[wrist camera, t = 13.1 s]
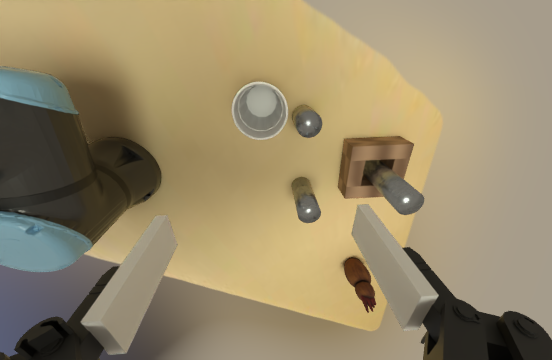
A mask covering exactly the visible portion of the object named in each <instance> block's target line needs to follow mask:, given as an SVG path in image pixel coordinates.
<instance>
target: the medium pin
mask: <svg viewBox="0 0 552 360" xmlns="http://www.w3.org/2000/svg"><path fill="white" fill-rule="evenodd" d="M292 190H293V195H294V199H295V204H296V209H297V213H298V217H299V219H300V220H301V221H302V222H305V223H312V222H315V221H316V220H318V219H319V217H320V215H321V211H320V208H319V205H318V203H317V200H316V197H315V195H314V192H313V190H312V187H311V184H310V182H309V180H308V179H307V178H304V177H299V178H296V179H295V180H294V181H293V183H292Z"/></svg>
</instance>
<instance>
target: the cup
mask: <svg viewBox="0 0 552 360" xmlns="http://www.w3.org/2000/svg"><path fill="white" fill-rule="evenodd" d="M232 117H233V120H234V123H235V125H236V126H237V128H238V129H239V130H240V131H241V132H242V133H243V134H244V135H246V136H247V137H249V138H252V139H256V140H265V139H269V138H272V137H274V136H276V135H277V134H278V133H279V132H280V131H281V130H282V129H283V127H284V126H285V124H286V121H287V118H288V105H287V102H286V99H285V97H284V95H283V94H282V93H281V91H280V90H279V89H277V88H276V87H275V86H273V85H271V84H269V83H266V82H252V83H249V84H247V85H245V86H244V87H242V88H241V89H240V90H239V91H238V92H237V94H236V95H235V97H234V100H233V103H232Z"/></svg>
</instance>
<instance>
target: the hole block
mask: <svg viewBox="0 0 552 360" xmlns="http://www.w3.org/2000/svg"><path fill="white" fill-rule="evenodd" d="M413 146H414V144H413V143H411V142H409V141H407V140H406V139H404V138H402V137H400V136H397V137H374V138H352V139H344V145H343V152H342V160H341V167H340V175H339V183H338V188H339V190H340V191H341V193H342V195H343V196H344V198H345V199H348V198H368V197H384V196H383V195H382V194H381V193H380V192H379V191H378V190H377V188H376V187H375V186H374V185H373V184H372V183H371V182H370V181H369V180H368V179H367V177H366V176H365V175H363V171H364V166H365V160H380V161H382V162H383V163H384V164H385V165H386V166H388V167H389V168H390V169H391V170H392V171H394V172H395V173H396V174H397V175H399V176H400V177H401V178H402V179H404V176H405V173H406V169H407V166H408V163H409V160H410V156H411V153H412V150H413Z"/></svg>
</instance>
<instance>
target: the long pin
mask: <svg viewBox="0 0 552 360" xmlns="http://www.w3.org/2000/svg"><path fill="white" fill-rule="evenodd" d="M363 174H364V175H365V176H366V177H367V179H368V180H369V181H370V182H371V183H372V184H373V185H374V186H375V187H376V188H377V190H378V191H379V192H380V193H381V194H382V195H383V196H384V197H385V198H386V199H387V201H388V202H389V203H390V204H391V205H392V206H393V207H394V208H395V209H396V210H397V212H398V213H400V214H403V215H409V214H412V213H414V212H416V211H418V210H419V209H420V208H421V207H422V205H423V203H424V197H423V195H422V194H421V193H419V192H418V191H417V190H416V189H414V188H413V187H412V186H411V185H410V184H408V183H407V182H406V181H405V180H403V179H402V178H401V177H400V176H399V175H397V174H396V173H395V172H394V171H392V170H391V169H390V168H389V167H388V166H386V165H385V164H384V163H383V162H382V161H380V160H365V166H364V171H363Z"/></svg>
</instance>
